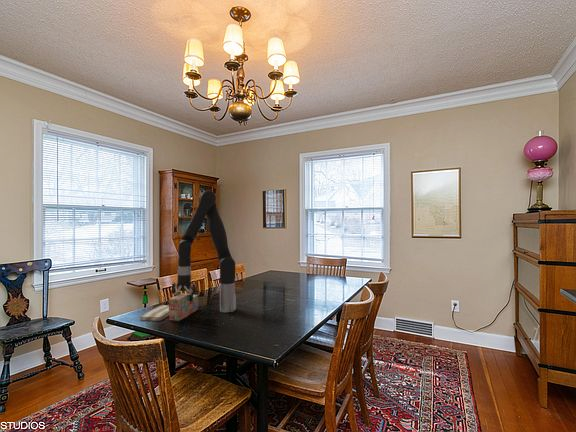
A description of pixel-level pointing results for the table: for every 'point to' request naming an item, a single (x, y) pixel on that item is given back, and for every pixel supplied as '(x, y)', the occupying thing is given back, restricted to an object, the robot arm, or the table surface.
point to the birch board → (156, 313)
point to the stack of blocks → (182, 306)
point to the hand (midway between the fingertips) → (183, 301)
